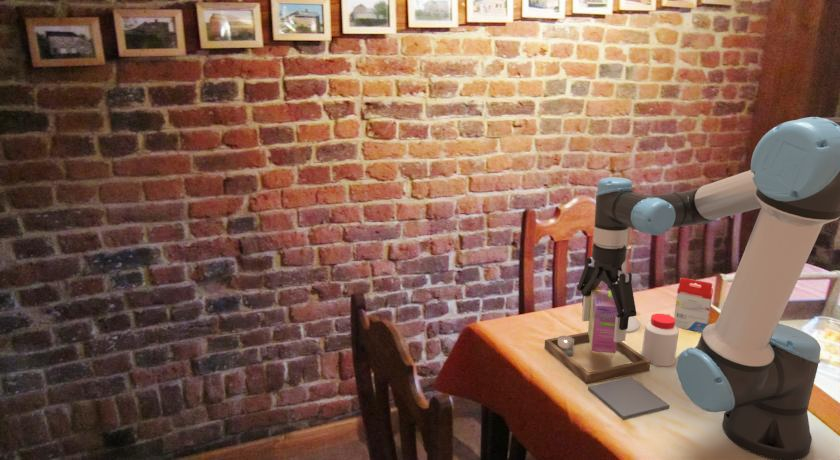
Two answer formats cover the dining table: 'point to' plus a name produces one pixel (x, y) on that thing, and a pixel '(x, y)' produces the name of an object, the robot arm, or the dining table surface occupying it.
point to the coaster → (628, 398)
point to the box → (602, 321)
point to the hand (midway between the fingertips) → (602, 330)
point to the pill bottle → (660, 340)
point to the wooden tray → (603, 374)
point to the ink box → (693, 304)
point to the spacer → (566, 344)
